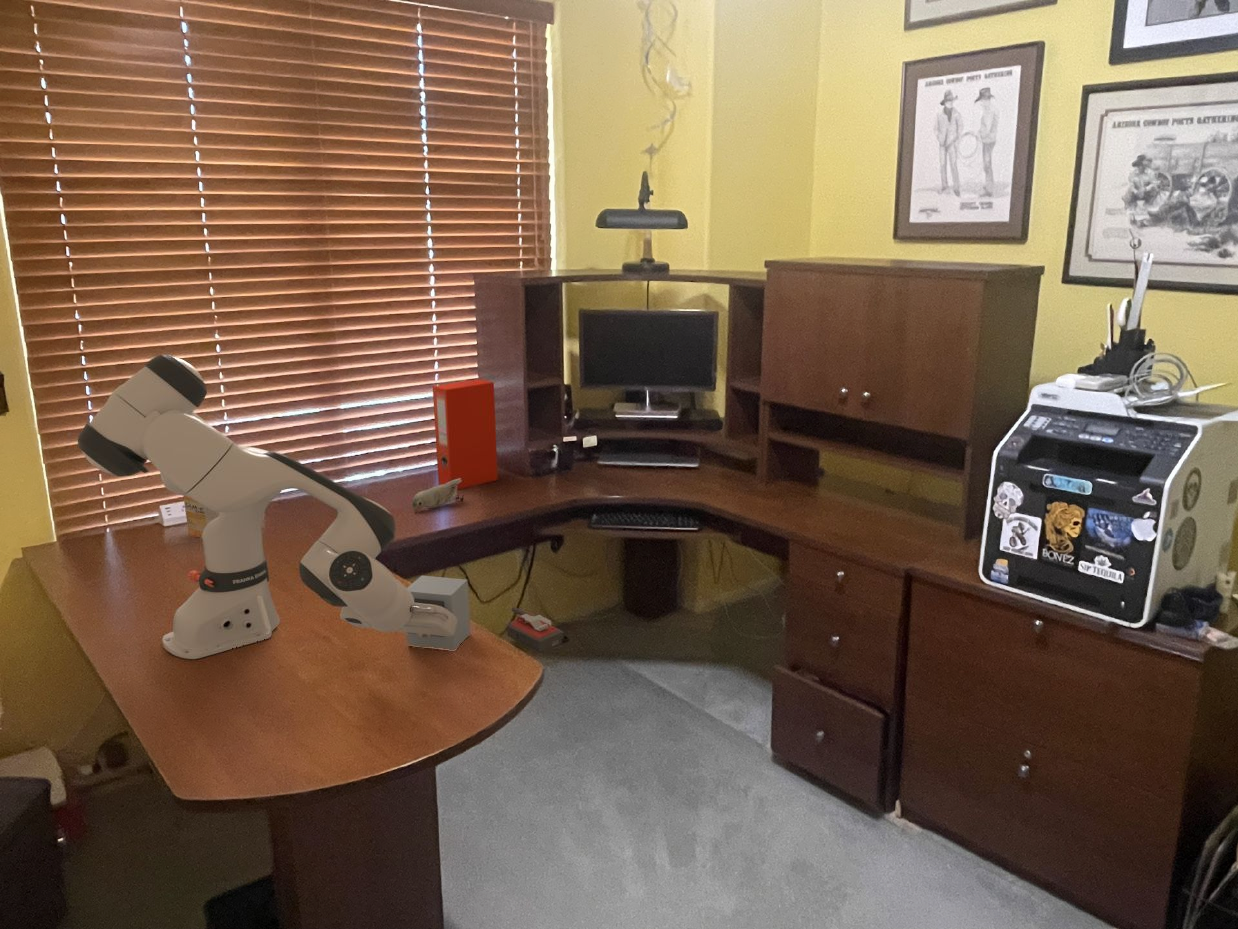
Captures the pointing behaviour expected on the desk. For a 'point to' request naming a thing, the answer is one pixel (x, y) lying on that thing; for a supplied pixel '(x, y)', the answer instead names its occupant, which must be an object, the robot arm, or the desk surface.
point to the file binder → (465, 432)
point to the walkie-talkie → (535, 632)
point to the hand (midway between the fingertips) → (416, 632)
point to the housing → (449, 597)
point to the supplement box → (197, 516)
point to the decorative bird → (437, 495)
